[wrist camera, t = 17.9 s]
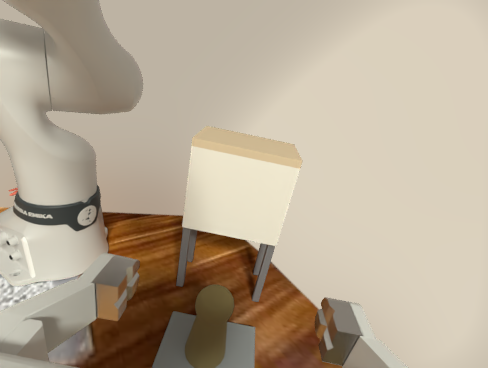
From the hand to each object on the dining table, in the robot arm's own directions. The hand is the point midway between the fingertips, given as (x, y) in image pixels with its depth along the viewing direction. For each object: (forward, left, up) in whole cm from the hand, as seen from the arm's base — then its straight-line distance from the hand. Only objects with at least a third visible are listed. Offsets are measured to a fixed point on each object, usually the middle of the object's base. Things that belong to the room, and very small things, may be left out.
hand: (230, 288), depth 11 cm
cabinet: (-8, +30, -30) cm, 43 cm away
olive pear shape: (-5, +15, -29) cm, 33 cm away
